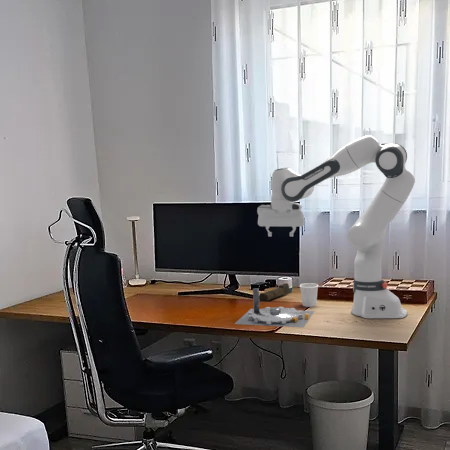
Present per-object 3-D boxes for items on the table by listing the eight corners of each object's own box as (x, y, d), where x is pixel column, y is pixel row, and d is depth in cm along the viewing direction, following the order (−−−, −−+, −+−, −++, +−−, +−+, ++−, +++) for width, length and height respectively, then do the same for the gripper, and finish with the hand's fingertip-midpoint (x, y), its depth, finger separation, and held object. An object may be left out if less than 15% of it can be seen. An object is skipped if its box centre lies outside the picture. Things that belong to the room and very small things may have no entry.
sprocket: (307, 311, 247) (307, 284, 246) (297, 325, 226) (296, 296, 225) (256, 309, 254) (255, 283, 253) (241, 323, 233) (240, 294, 232)
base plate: (314, 313, 248) (314, 306, 247) (303, 329, 224) (303, 322, 224) (251, 310, 256) (250, 304, 256) (234, 326, 233) (233, 319, 232)
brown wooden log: (267, 303, 269) (266, 291, 269) (258, 302, 272) (258, 290, 272) (294, 294, 286) (294, 283, 286) (286, 293, 290) (286, 282, 289)
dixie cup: (317, 304, 263) (316, 282, 262) (320, 309, 255) (319, 286, 254) (298, 305, 263) (298, 283, 262) (301, 309, 255) (300, 287, 254)
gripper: (257, 205, 251) (257, 237, 253) (305, 206, 250) (304, 237, 253) (257, 204, 257) (256, 235, 259) (303, 204, 257) (302, 235, 259)
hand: (280, 236), depth 256 cm, fingers open, 8 cm apart
